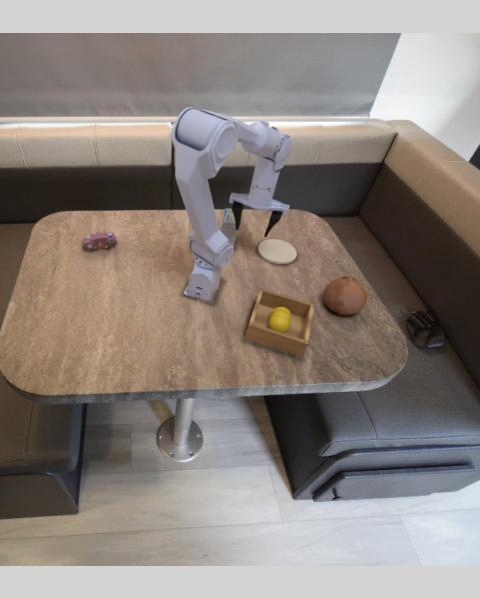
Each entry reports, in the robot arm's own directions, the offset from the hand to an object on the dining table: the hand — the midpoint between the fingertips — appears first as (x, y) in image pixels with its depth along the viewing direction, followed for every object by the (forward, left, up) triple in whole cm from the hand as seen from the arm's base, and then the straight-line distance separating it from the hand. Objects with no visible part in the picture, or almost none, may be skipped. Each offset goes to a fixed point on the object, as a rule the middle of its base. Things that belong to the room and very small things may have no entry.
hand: (251, 231), depth 93 cm
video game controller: (-12, +40, -10) cm, 43 cm away
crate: (-22, -13, -9) cm, 28 cm away
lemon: (-22, -13, -9) cm, 27 cm away
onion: (-9, -26, -10) cm, 29 cm away
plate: (+7, -8, -9) cm, 14 cm away
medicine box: (+6, +7, -9) cm, 13 cm away
